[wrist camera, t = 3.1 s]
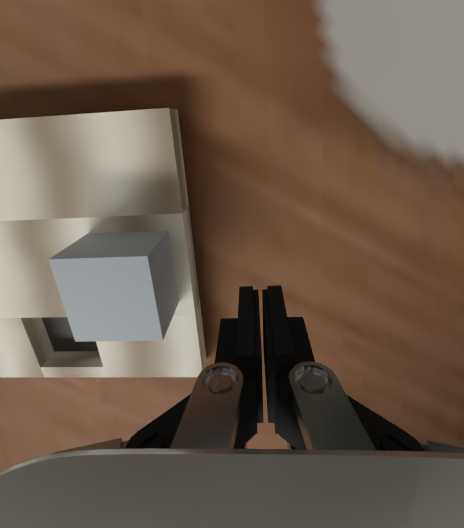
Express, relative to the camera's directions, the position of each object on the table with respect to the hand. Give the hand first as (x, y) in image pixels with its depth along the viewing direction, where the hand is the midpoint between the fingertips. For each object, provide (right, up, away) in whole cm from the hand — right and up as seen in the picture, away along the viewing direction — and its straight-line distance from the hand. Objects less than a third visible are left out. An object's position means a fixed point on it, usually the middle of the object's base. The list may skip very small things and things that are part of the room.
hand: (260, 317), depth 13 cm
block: (-7, +2, +7) cm, 10 cm away
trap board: (-15, +2, +9) cm, 18 cm away
